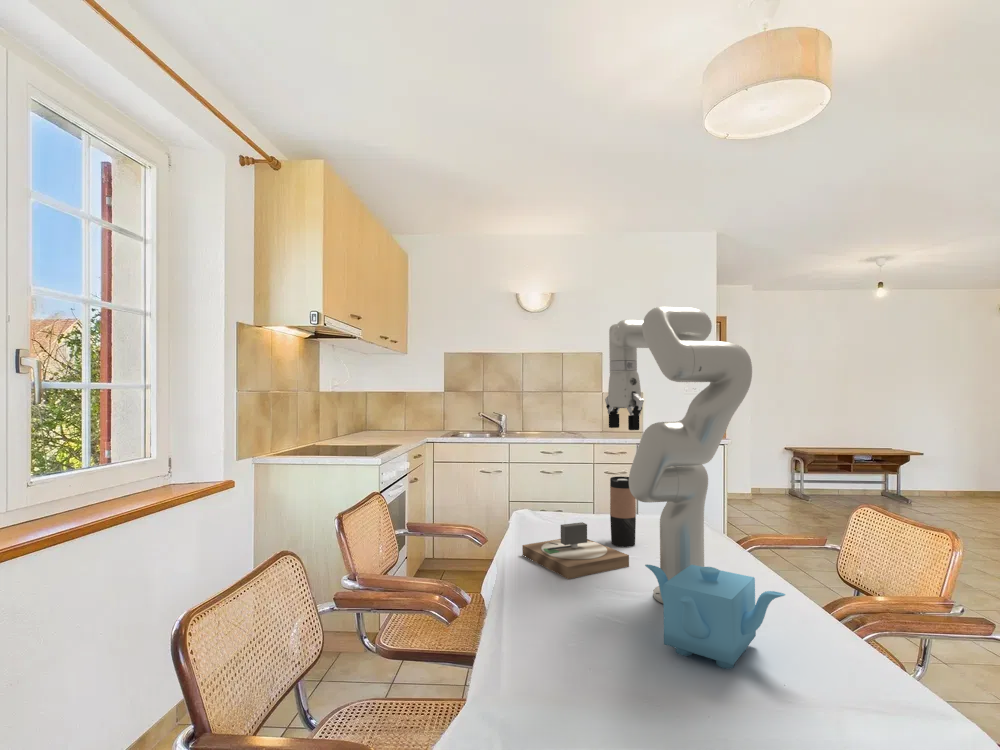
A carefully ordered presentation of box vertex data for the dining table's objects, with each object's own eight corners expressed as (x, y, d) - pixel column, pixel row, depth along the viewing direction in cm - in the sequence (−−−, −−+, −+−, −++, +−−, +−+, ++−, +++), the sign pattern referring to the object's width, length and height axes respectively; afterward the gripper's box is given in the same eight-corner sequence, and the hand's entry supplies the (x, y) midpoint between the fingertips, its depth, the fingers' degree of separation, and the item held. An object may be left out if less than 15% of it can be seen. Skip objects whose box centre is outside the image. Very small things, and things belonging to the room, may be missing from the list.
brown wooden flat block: (629, 566, 145) (628, 553, 145) (568, 579, 136) (567, 564, 136) (579, 545, 165) (578, 533, 165) (522, 555, 155) (522, 543, 155)
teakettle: (731, 626, 109) (730, 552, 109) (791, 674, 90) (789, 585, 91) (640, 631, 107) (639, 555, 107) (682, 681, 88) (681, 590, 89)
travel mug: (634, 540, 170) (633, 476, 170) (637, 547, 162) (637, 480, 163) (609, 540, 171) (608, 476, 171) (611, 547, 163) (611, 480, 163)
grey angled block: (582, 544, 153) (582, 522, 153) (587, 546, 150) (587, 524, 151) (546, 549, 148) (546, 526, 148) (550, 551, 146) (550, 528, 146)
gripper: (653, 366, 146) (654, 430, 145) (617, 369, 162) (618, 426, 161) (629, 366, 143) (630, 431, 143) (595, 368, 159) (595, 427, 159)
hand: (623, 428), depth 152 cm, fingers open, 9 cm apart
